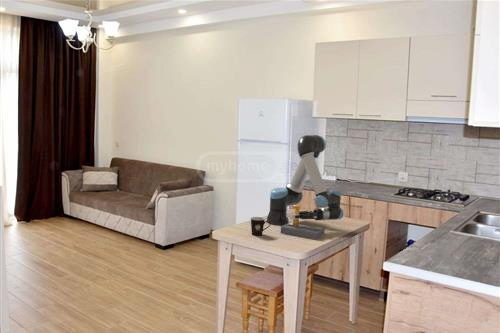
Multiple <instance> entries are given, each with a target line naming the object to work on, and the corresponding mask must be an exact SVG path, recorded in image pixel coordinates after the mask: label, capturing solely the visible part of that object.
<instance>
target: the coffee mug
mask: <svg viewBox="0 0 500 333" xmlns="http://www.w3.org/2000/svg"><path fill="white" fill-rule="evenodd" d="M267 222H269V221H267V220H266V219H265V217H260V216H253V217H250V226H251V227H250V228H251V235H252V236H254V237H261V236H263V232H264V231H265V230H267V229H268V228H269V227H271V224H269V223H270V222H269V223H268V224H269V225H268V226H267V227H265V226H264V225H265V224H266V223H267ZM264 227H265V228H264Z"/></svg>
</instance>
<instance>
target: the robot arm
mask: <svg viewBox="0 0 500 333" xmlns="http://www.w3.org/2000/svg"><path fill="white" fill-rule="evenodd" d="M326 147H327V143H326V140H325V138H324V137H323V136H321V135H317V134H312V135H311V134H310V135H309V134H307V135H306V134H305V135H303V136H301V137H300V138H299V139H298V141H297V152H298V155H299V156H298V157H299V158H300V161H299V162H298V165H297V167H296V169H295V172H294V173H293V176H292V179H291V181H290V183H288V184H286V187H275V188H273V189H271V191H270V195H269V196H270V198H269V212H268V214H267V217H266V221H269V222H270V223H269V222H266V223H268V224H269V225H275V226H284V225H286V224H288V223H290V222H289V221H290V220H293V219H299V220H315V221H324V222H325V221H327V220H328V221H330V220H333V221H337V220H341V219H342V218H343V217H344V209H343V208H341V198H342V196H341V195H342V192H341V190H339V189H330V190H329V191H327V189H326V185H325V183H324V181H323V180H324V179H323V177H322V175H321V172H320V169H319V167H318V164H317V161H316V159H317V158H319V156H320V154H321V153H322V152H325V150H326ZM307 178H309V181H310V184H311V186H312V189H313V192H314V195H315V198H314V204H315V205H316V207H318V208H314V210H313V211H312V210H309V211H308V210H299V214H293V212H287V211H288V207H289V206H293V205H299V204H300V203H301V201H303V196H304V194H303V186H304V185H305V184H304V183H305V182H306V179H307ZM328 192H329V193H328ZM289 219H290V220H289Z"/></svg>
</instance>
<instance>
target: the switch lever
mask: <svg viewBox="0 0 500 333" xmlns="http://www.w3.org/2000/svg"><path fill="white" fill-rule="evenodd" d="M292 207H293V212H292V213H293V214H299V211H300V208H301V205H299V204H296V205H292ZM299 220H300V218H299V219H292V223H293V227H297V226H298V224H300V223H299Z"/></svg>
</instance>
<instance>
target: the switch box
mask: <svg viewBox="0 0 500 333" xmlns="http://www.w3.org/2000/svg"><path fill="white" fill-rule="evenodd" d="M325 231H326V229H325V227H320V226H314V225H313V226H312V225H307V224H300V223H299V224H298V226H297V227H293V222H289V223H288V224H286V225H281V226H280V234H284V235H290V236H295V237H299V238H305V239H311V240H317V241H318V240H319V239H320V238H322V237H323V236H325Z"/></svg>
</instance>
